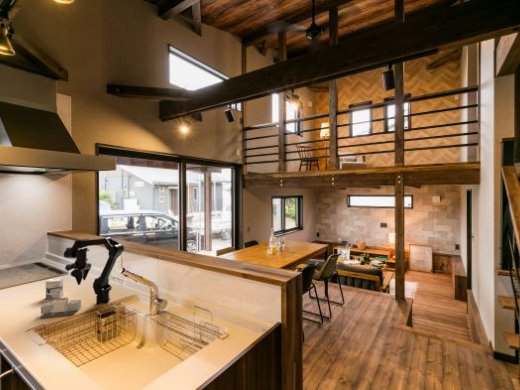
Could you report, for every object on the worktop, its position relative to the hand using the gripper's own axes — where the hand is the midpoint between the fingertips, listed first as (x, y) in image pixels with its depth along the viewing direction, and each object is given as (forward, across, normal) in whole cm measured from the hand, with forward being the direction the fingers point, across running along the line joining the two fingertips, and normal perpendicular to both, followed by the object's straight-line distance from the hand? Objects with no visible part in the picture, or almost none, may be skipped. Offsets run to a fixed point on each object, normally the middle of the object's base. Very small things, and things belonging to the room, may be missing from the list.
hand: (81, 282), depth 176 cm
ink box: (+12, -12, -20) cm, 26 cm away
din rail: (+12, +16, -6) cm, 21 cm away
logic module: (+10, +16, -6) cm, 20 cm away
